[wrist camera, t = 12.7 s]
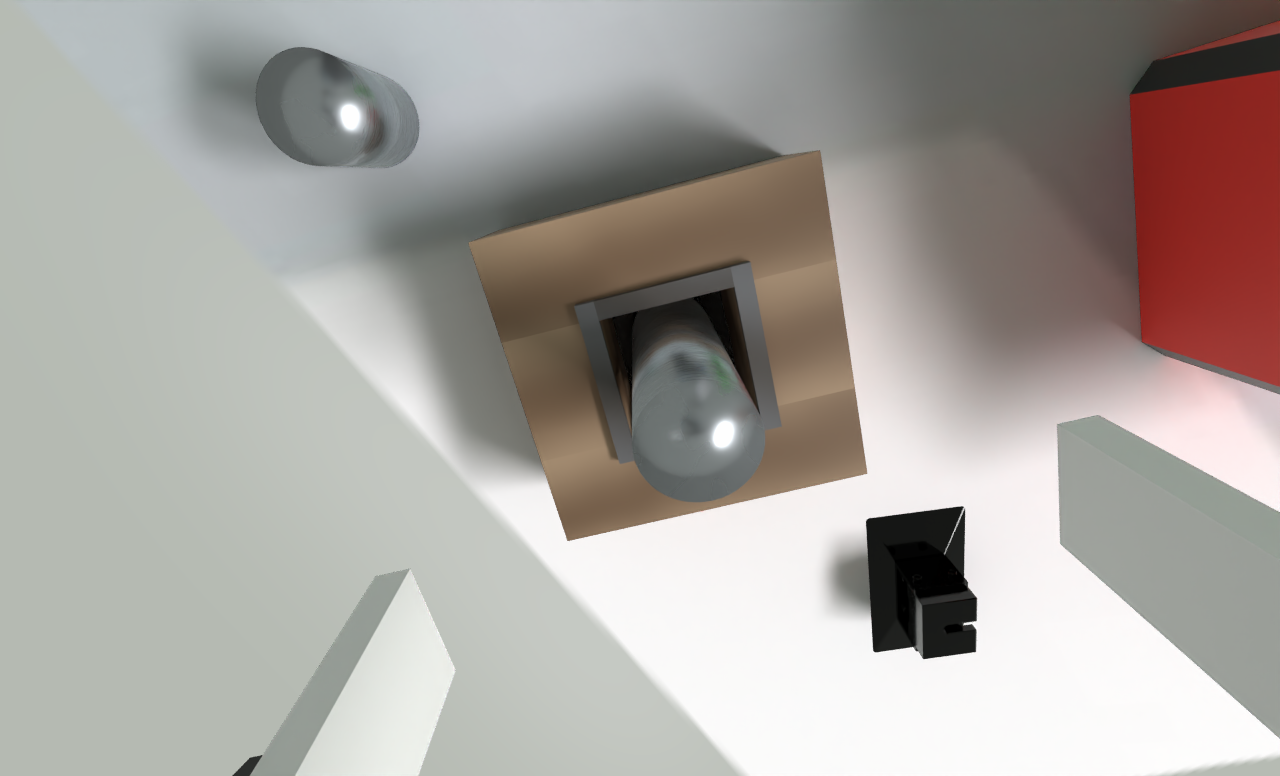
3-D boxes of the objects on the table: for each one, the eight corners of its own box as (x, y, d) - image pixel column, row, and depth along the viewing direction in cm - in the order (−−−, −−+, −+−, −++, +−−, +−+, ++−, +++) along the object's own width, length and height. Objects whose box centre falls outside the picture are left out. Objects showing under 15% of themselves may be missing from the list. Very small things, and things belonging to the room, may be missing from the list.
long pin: (623, 303, 31) (617, 397, 18) (701, 284, 31) (751, 366, 18) (642, 376, 33) (649, 514, 19) (717, 358, 32) (776, 486, 19)
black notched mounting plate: (970, 651, 39) (1012, 709, 35) (855, 666, 40) (883, 727, 35) (973, 477, 35) (1021, 519, 31) (845, 495, 36) (875, 540, 31)
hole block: (499, 230, 30) (465, 243, 24) (783, 155, 29) (822, 149, 23) (578, 481, 35) (566, 545, 28) (827, 423, 34) (870, 477, 28)
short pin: (317, 86, 28) (236, 64, 22) (400, 62, 28) (340, 34, 22) (351, 177, 29) (283, 177, 24) (431, 155, 29) (382, 150, 23)
